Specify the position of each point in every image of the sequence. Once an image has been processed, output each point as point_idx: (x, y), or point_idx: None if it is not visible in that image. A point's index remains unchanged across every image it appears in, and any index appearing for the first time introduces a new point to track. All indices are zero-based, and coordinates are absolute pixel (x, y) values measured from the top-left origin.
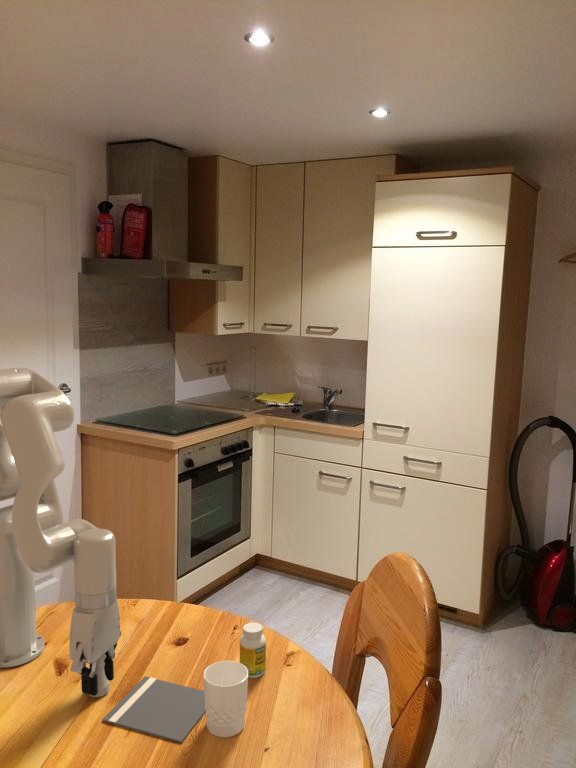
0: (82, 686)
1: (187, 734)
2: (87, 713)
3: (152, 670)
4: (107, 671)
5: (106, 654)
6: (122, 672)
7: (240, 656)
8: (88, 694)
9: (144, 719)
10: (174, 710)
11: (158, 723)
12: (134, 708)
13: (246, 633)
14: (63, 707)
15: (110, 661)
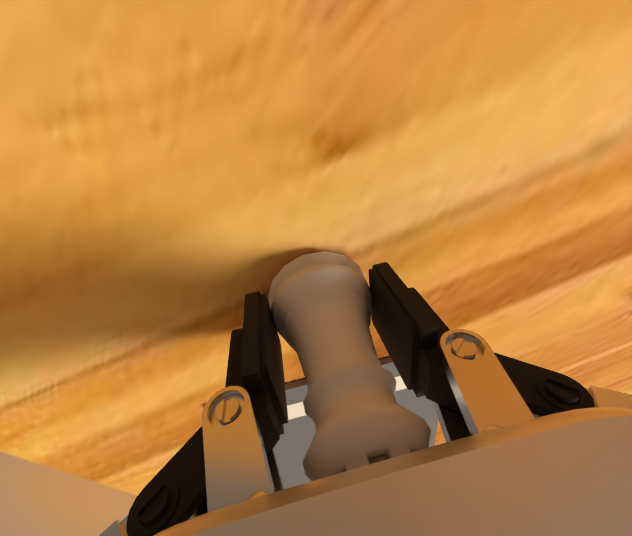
0: (246, 314)
1: None
2: (200, 352)
3: (490, 329)
4: (387, 336)
5: (449, 395)
6: (457, 267)
7: None
8: (270, 294)
9: (283, 457)
10: None
11: (291, 475)
12: (303, 423)
13: None
14: (147, 264)
15: (417, 392)
